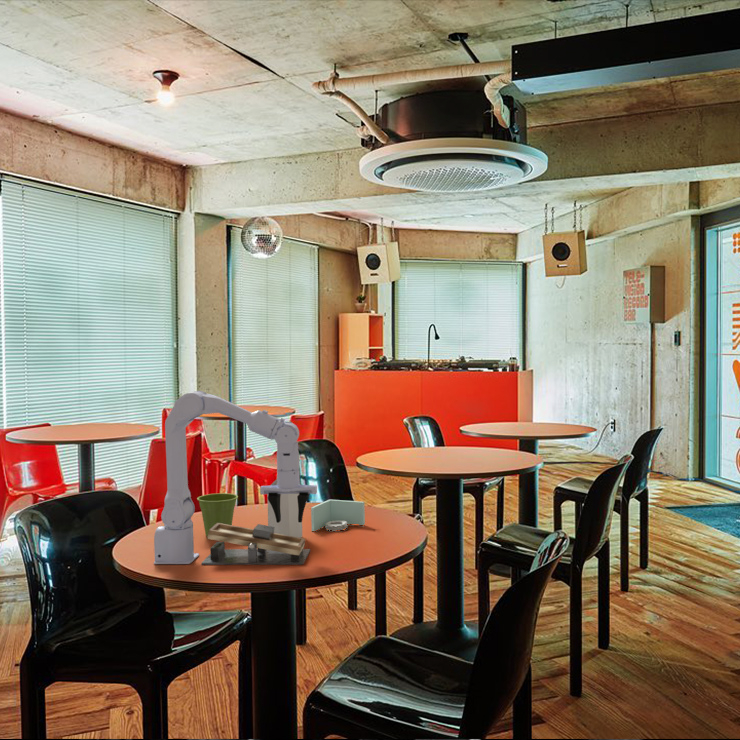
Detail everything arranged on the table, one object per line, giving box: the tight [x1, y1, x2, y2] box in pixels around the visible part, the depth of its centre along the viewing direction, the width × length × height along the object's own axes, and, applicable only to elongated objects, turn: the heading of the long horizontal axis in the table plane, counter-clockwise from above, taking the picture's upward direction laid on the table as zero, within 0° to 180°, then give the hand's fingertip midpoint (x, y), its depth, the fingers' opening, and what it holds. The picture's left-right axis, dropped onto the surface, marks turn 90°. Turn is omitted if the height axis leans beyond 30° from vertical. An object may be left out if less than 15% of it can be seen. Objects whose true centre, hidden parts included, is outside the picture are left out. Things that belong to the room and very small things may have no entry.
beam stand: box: [200, 541, 311, 566], centre depth 178 cm, size 26×13×5 cm, turn 86°
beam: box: [206, 523, 306, 555], centre depth 178 cm, size 24×8×2 cm, turn 86°
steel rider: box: [252, 523, 275, 540], centre depth 178 cm, size 4×5×3 cm
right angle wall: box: [310, 498, 366, 532], centre depth 206 cm, size 12×12×8 cm
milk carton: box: [266, 478, 303, 538], centre depth 196 cm, size 7×7×19 cm
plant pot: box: [196, 492, 239, 537], centre depth 202 cm, size 12×12×11 cm
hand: (289, 521), depth 177 cm, fingers open, 5 cm apart
